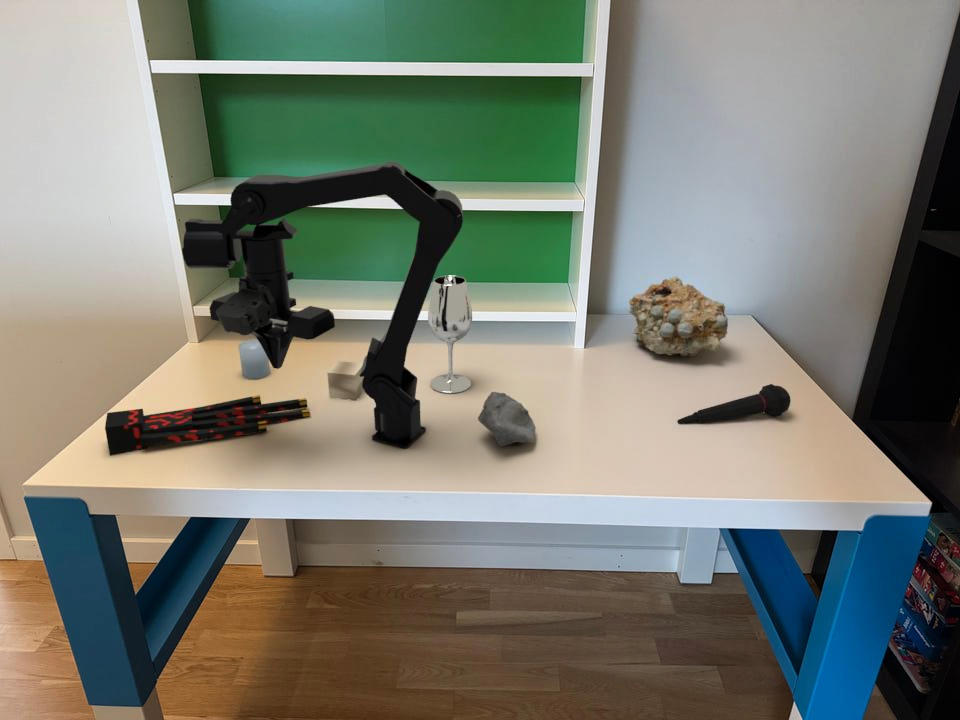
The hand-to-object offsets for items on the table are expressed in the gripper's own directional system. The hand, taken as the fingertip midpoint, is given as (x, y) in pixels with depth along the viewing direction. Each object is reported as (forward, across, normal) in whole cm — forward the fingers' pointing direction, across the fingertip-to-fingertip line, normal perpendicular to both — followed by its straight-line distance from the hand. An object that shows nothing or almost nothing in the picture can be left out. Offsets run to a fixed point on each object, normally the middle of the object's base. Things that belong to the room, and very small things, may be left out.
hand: (277, 367), depth 104 cm
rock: (+12, +49, +63) cm, 81 cm away
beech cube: (+12, 0, +17) cm, 21 cm away
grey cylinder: (+12, -20, +16) cm, 28 cm away
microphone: (+12, +63, +38) cm, 75 cm away
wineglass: (+12, +15, +28) cm, 34 cm away
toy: (+13, -11, -4) cm, 17 cm away
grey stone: (+12, +32, +14) cm, 37 cm away
